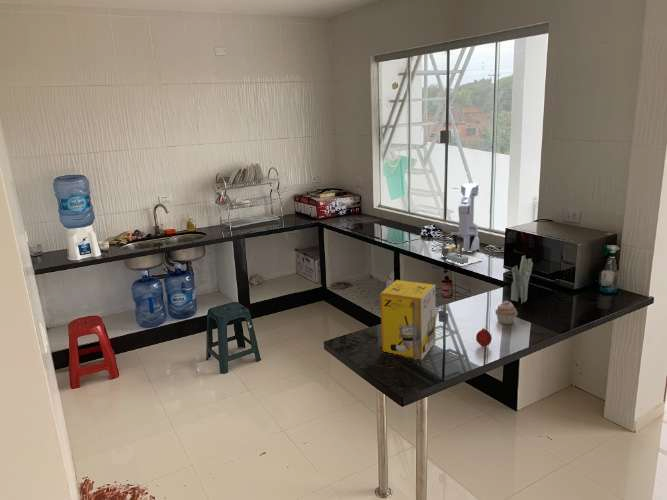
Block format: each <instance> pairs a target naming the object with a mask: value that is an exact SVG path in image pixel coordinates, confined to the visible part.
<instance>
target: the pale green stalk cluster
mask: <svg viewBox="0 0 667 500" xmlns="http://www.w3.org/2000/svg"><path fill="white" fill-rule="evenodd" d="M520 260H521V261H520V265H519V269H518V265H515V266H512V268H511V274H512V278H513V279H512V280H513V281H512V283H511V287H510V289H511V290H510V291H511V292H510V301H514V302H517V303H518V302H519V299H520V303H521V304H523V303H526V302H527V300H528V288H529V283H530V282H529V281H530V276H531V274H532V270H533V265H534V262H533V259H532V258H526V255H522V256H521V259H520Z"/></svg>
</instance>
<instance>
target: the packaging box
mask: <svg viewBox="0 0 667 500" xmlns="http://www.w3.org/2000/svg"><path fill="white" fill-rule="evenodd" d="M379 296H380V320H381V321H380V323H381V324H380V325H381V343H382V344H381V347H382V351H384V352H388V353H393V354H398V355H403V356H407V357H412V358H417V359H423V358H424V359H425V357H426V356H427V355H428V353H429V352H430V351H431V349H432V348H433V347H434V345H435V344H436V343H435V342H436V341H437V340H436V339H437V338H436V336H437V333H436V330H437V329H436V328H437V326H436V323H437V322H436V317H437V316H436V313H437V312H436V309H437V308H436V284H433V283H424V282H417V281H411V280H410V281H409V280H402V279H401V280H400V279H396V280H395V281H394V282H392V283H391V284H389V286H388V287H386V288H384V290H383V291H382V292H380V295H379ZM434 343H435V344H434ZM433 344H434V345H433ZM432 346H433V347H432ZM431 347H432V348H431ZM430 348H431V349H430ZM429 350H430V351H429ZM428 351H429V352H428ZM427 352H428V353H427ZM426 354H427V355H426ZM425 355H426V356H425ZM424 356H425V357H424ZM424 359H423V360H424Z"/></svg>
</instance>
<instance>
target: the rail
mask: <svg viewBox="0 0 667 500" xmlns="http://www.w3.org/2000/svg"><path fill="white" fill-rule="evenodd" d="M462 249H463V245H462V244H458V243H457V249H456V247H455V244H453V245H447V246H444V247H441V256H442V255H443V256H447V254H450V253H457V254H461V253H462V254H463V251H462Z"/></svg>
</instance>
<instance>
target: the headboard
mask: <svg viewBox="0 0 667 500" xmlns="http://www.w3.org/2000/svg"><path fill="white" fill-rule="evenodd" d="M458 256H459V257H458ZM460 256H462V257H460ZM446 259H448V260H451V261H454V262H457V263H460V264H464V263H468V260H472V261H473V260H474V261H475V260H477V261H480V260H482V259H480V258H478V257H474V256H471V255H467V254H462V255H458V254H457V253H450V254H447V258H446Z"/></svg>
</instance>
